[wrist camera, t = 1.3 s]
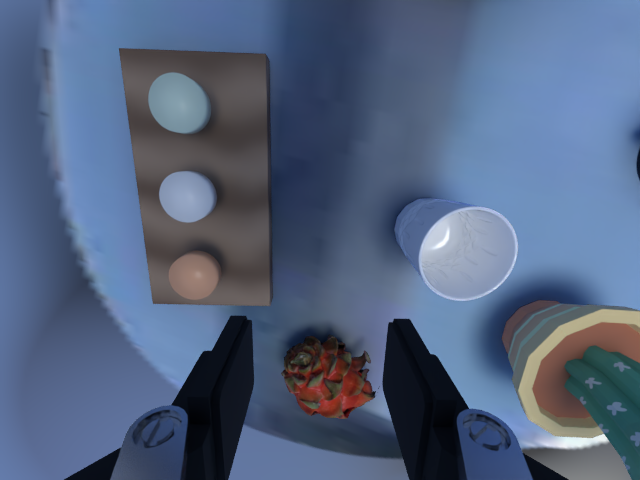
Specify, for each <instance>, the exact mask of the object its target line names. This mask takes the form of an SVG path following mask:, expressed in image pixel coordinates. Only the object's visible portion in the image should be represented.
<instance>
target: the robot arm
mask: <svg viewBox="0 0 640 480" xmlns="http://www.w3.org/2000/svg"><path fill="white" fill-rule="evenodd" d="M253 385H254V367H253V339H252V321H251V320H247V317H246V316H230V318H229V320H228V322H227V324H226V325H225V327H224V329H223V331H222V333H221V335H220V337H219V338H218V340H217V342H216V344H215V346H214V348H213V349H212V351H204V352H203V353H202V354H201V356H200V357H199V359H198V361H197V362H196V364H195V366H194V368H193V369H192V371H191V373H190V374H189V376H188V378H187V379H186V381H185V383H184V385H183V386H182V388H181V390H180V391H179V393H178V395H177V397H176V398H175V400H174V402H173V403H172V405H169V406H161V407H158V408H155V409H152V410H150V411H148V412H147V413H145V414H143V415H142V416H141V417H139V418H138V419H137V420H136V421H135V422H134V423H133V424H132V425H131V426H130V428H129V430H128V431H127V433H126V436H125V438H124V441H123V444H122V447H121V448H119V449H117V450H116V451H114V452H112V453H110V454H108V455H107V456H105V457H103V458H102V459H100V460H98V461H96V462H94V463H93V464H91V465H89V466H87V467H86V468H84V469H82V470H80V471H78V472H77V473H75V474H73V475H71V476H70V477H68V478H66V479H64V480H228V478H229V475H230V471H231V468H232V464H233V460H234V456H235V453H236V449H237V445H238V442H239V438H240V434H241V431H242V427H243V423H244V420H245V416H246V412H247V409H248V405H249V401H250V398H251V394H252V390H253ZM383 391H384V395H385V398H386V402H387V405H388V408H389V412H390V415H391V419H392V422H393V425H394V429H395V432H396V436H397V439H398V442H399V446H400V449H401V453H402V456H403V460H404V463H405V466H406V470H407V473H408V477H409V479H410V480H568V479H567V478H565V477H563V476H561V475H560V474H558V473H556V472H555V471H553V470H551V469H549V468H548V467H546V466H544V465H543V464H541V463H539V462H537V461H536V460H534V459H532V458H531V457H529V456H527V455H525V454H524V453H522V451H521V448H520V446H519V443H518V440H517V438H516V436H515V435H514V433H513V431H512V430H511V429H510V428H509V427H508V425H507V424H506V423H504V422H503V421H502V420H500V419H499V418H498V417H496V416H494V415H492V414H490V413H488V412H485V411H482V410H477V409H469V408H468V406H467V404H466V403H465V401H464V399H463V398H462V396H461V395H460V393H459V391H458V390H457V388H456V386H455V385H454V383H453V382H452V380H451V378H450V377H449V375H448V373H447V372H446V370H445V369H444V367H443V365H442V364H441V362H440V360H439V359H438V357H437V356H436V355H434V354H430V353H429V351H428V349H427V348H426V346H425V344H424V343H423V341H422V339H421V337H420V336H419V334H418V332H417V331H416V329H415V327H414V326H413V324H412V322H411V320H410V319H394V321H393V322H389V324H388V333H387V342H386V352H385V362H384V372H383Z"/></svg>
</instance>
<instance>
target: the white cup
mask: <svg viewBox="0 0 640 480" xmlns="http://www.w3.org/2000/svg"><path fill="white" fill-rule="evenodd" d="M394 232H395V236H396V240H397V243H398V245H399V246H400V247H401V248H402V250H403V252H404V254H405V256H406V257H407V259H408V260H409V262H410V263H411V264H412V266H413V267H414V268H415V270H416V271H417V272H418V274H419V275H420V276H421V278H422V279H423V280H424V282H425V283H426V284H427V286H428V287H429V288H430V289H431V290H432V291H433V292H435V293H436V294H438V295H440V296H442V297H444V298H447V299H450V300H456V301H467V300H473V299H477V298H480V297H482V296H485V295H487V294H489V293H490V292H492V291H494V290H495V289H496V288H498V287H499V286H500V285H501V284H502V283H503V282H504V281H505V280H506V278H507V277H508V276H509V274H510V273H511V271H512V269H513V267H514V265H515V262H516V259H517V253H518V241H517V236H516V233H515V231H514V228H513V227H512V225H511V224H510V222H509V221H508V220H507V219H506V218H505V217H504V216H503V215H501V214H500V213H498V212H496V211H494V210H492V209H489V208H485V207H480V206H475V205H470V204H466V203H461V202H456V201H449V200H443V199H435V198H424V199H417V200H415V201H414V202H412V203H410V204H408V205H406V206H405V207H404V209H403V210H402V211H401V213H400V214H399V215H398V216H397V220H396V224H395V228H394Z"/></svg>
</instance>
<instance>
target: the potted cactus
mask: <svg viewBox="0 0 640 480" xmlns="http://www.w3.org/2000/svg"><path fill="white" fill-rule="evenodd" d="M502 341H503V344H504V346H505V349H506V352H507V353H508V359H509V361H510V364H511V367H512V370H513V373H514V374H513V377H512V381H513V384H514V387H515V390H516V393H517V395H518V398H519V401H520V404H521V406H522V408H523V410H524V412H525V414H526V416H527V418H528V420H530V421H532V422H533V423H535V424H536V425H538V426H540V427H541V428H543V429H544V430H546V431H548V432H549V433H551V434H552V435H554V436H562V437H582V438H593V437H596V436H599V435H602V434H605V436H606V437H607V438H608V440H609V441H610V443H611V444H612V445H613V447H614V448H615V449H616V451H617V452H618V454H619V455H620V456H621V458H622V460H623V462H624V464H625V466H626V468H627V470H628V473H629V474H630V477H631V479H632V480H640V311H639V310H635V309H632V308H628V307H619V306H604V305H589V304H587V305H575V304H560V303H559V302H558V301H546V300H537V301H535V302H532V303H530V304H528V305H525V306H523V307H520V308H519V309H518V310H517V311H516V312H515V313H514V314H513V315H512V316H511V317H510V318H509V320H508V321H507V322H506V325H505V328H504V332H503V335H502Z"/></svg>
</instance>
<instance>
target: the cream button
mask: <svg viewBox="0 0 640 480" xmlns="http://www.w3.org/2000/svg"><path fill="white" fill-rule="evenodd" d="M159 198H160V202H161V205H162V207H163V208H164V210H165V211H166V213H167V214H168V215H170V216H171V217H172V218H174V219H176V220H178V221H181V222H187V223H189V222H195V221H198V220H200V219H202V218H204V217H206V216H207V215H209V214H210V213H211V212H212V211H213V209H214V207H215V205H216V201H217V194H216V190H215V187H214V185H213V184H212V182H211V181H210V180H209V179H208V178H207V177H206V176H205V175H203V174H201V173H199V172H196V171H181V172H175V173H172V174H170V175H169V176H167V177H166V178H165V179H164V181H163V182H162V184H161V186H160V190H159Z"/></svg>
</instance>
